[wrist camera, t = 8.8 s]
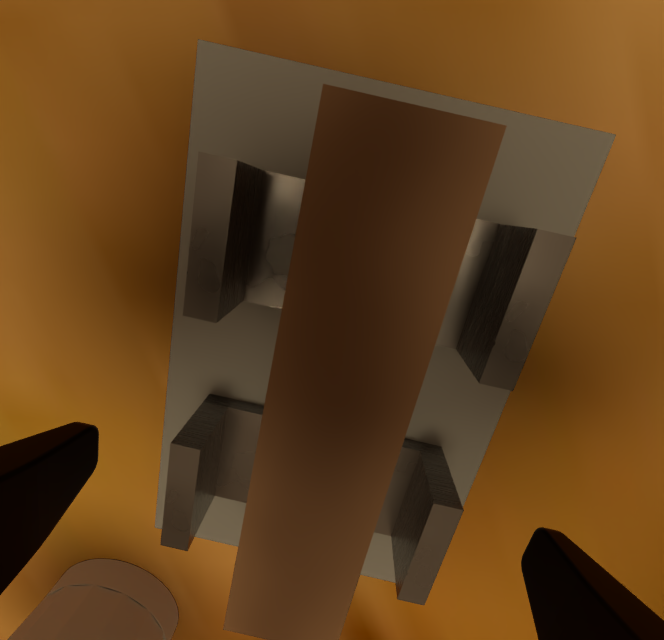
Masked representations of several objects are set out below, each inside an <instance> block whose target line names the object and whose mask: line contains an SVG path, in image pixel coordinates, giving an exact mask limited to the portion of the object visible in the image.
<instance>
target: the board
mask: <svg viewBox="0 0 664 640" xmlns="http://www.w3.org/2000/svg"><path fill="white" fill-rule="evenodd" d="M323 84H327V85H331V86H336V87H340V88H345V89H349V90H353V91H358V92H362V93H366V94H371V95H375V96H380V97H384V98H388V99H393V100H397V101H401V102H406V103H410V104H415V105H419V106H423V107H428V108H432V109H436V110H441V111H445V112H449V113H454V114H458V115H463V116H467V117H471V118H476V119H480V120H484V121H489V122H493V123H498V124H502V125H506V126H507V127H506V130H505V133H504V136H503V139H502V142H501V145H500V148H499V151H498V154H497V157H496V160H495V163H494V167H493V170H492V173H491V176H490V179H489V182H488V185H487V188H486V191H485V194H484V197H483V200H482V203H481V206H480V209H479V212H478V215H477V219H480V220H485V221H489V222H493V223H498V224H504V225H512V226H520V227H527V228H535V229H541V230H545V231H549V232H554V233H558V234H562V235H567V236H571V237H574V236H575V233H576V231H577V229H578V226H579V224H580V221H581V219H582V216H583V214H584V212H585V209H586V207H587V204H588V202H589V199H590V197H591V195H592V192H593V190H594V187H595V185H596V182H597V180H598V178H599V175H600V173H601V170H602V168H603V165H604V163H605V161H606V158H607V156H608V153H609V151H610V148H611V146H612V144H613V141H614V139H615V136H616V135H615V134H611V133H607V132H602V131H598V130H593V129H589V128H585V127H580V126H576V125H572V124H567V123H563V122H558V121H554V120H550V119H545V118H541V117H536V116H532V115H528V114H523V113H519V112H515V111H510V110H506V109H501V108H497V107H493V106H488V105H484V104H480V103H475V102H471V101H466V100H462V99H458V98H453V97H449V96H445V95H440V94H436V93H431V92H427V91H423V90H418V89H414V88H409V87H405V86H401V85H396V84H392V83H388V82H383V81H379V80H374V79H370V78H366V77H361V76H357V75H353V74H348V73H344V72H339V71H335V70H331V69H326V68H322V67H318V66H313V65H309V64H304V63H300V62H296V61H291V60H287V59H283V58H278V57H274V56H269V55H265V54H261V53H256V52H252V51H247V50H243V49H239V48H234V47H230V46H226V45H221V44H217V43H212V42H208V41H204V40H199V39H198V45H197V57H196V68H195V79H194V90H193V102H192V113H191V124H190V136H189V147H188V158H187V169H186V181H185V192H184V203H183V215H182V226H181V237H180V248H179V260H178V271H177V282H176V294H175V305H174V316H173V327H172V339H171V350H170V361H169V373H168V384H167V395H166V406H165V418H164V429H163V440H162V452H161V463H160V474H159V486H158V497H157V508H156V519H155V528H159V529H162V525H163V514H164V504H165V494H166V483H167V473H168V462H169V452H170V443H171V442H172V440H173V439H174V438H175V437H176V435H177V434H178V433H179V432H180V430H181V429H182V428H183V427H184V425H185V424H186V423H187V421H188V420H189V419H190V418H191V416H192V415H193V414H194V413H195V411H196V410H197V409H198V408H199V406H200V405H201V404H202V403H203V401H204V400H205V399H206V397H207V396H208V395H209V394H214V395H218V396H223V397H227V398H232V399H236V400H240V401H245V402H249V403H253V404H258V405H262V406H264V404H265V398H266V393H267V388H268V382H269V377H270V371H271V366H272V360H273V355H274V349H275V344H276V338H277V333H278V327H279V322H280V316H281V311H282V309H278V308H273V307H269V306H265V305H260V304H256V303H252V302H247V301H243V302H242V303H240V304H239V305H238V306H237V307H236V308H234V309H233V310H232V311H231V312H230V313H228V314H227V315H226V316H225V317H223V318H222V319H221V320H220V321H219V322H217V323H213V322H208V321H204V320H200V319H195V318H191V317H186V316H183V307H184V297H185V286H186V276H187V266H188V255H189V245H190V235H191V224H192V214H193V204H194V193H195V183H196V173H197V162H198V152H204V153H208V154H212V155H217V156H221V157H225V158H230V159H234V160H238V161H241V162H243V163H246V164H249V165H251V166H254V167H257V168H259V169H262V170H266V171H270V172H275V173H279V174H283V175H288V176H292V177H296V178H301V179H305V180H306V174H307V169H308V163H309V158H310V152H311V147H312V142H313V136H314V131H315V125H316V120H317V114H318V109H319V103H320V98H321V92H322V87H323ZM509 394H510V390H506V389H501V388H497V387H493V386H488V385H484V384H479V383H478V381H477V380H476V378H475V377H474V375H473V374H472V372H471V371H470V369H469V368H468V366H467V365H466V363H465V362H464V360H463V359H462V357H461V356H460V355H459V353H458V352H457V350H456V349H453V348H448V347H444V346H440V345H435V347H434V350H433V353H432V356H431V359H430V362H429V365H428V368H427V371H426V374H425V378H424V381H423V384H422V387H421V390H420V393H419V396H418V399H417V402H416V405H415V408H414V411H413V414H412V417H411V420H410V423H409V426H408V430H407V433H406V436H405V438H406V439H411V440H415V441H420V442H424V443H428V444H433V445H437V446H441V447H442V449H443V452H444V455H445V458H446V461H447V464H448V467H449V469H450V472H451V475H452V478H453V481H454V484H455V487H456V490H457V493H458V495H459V498H460V501H461V504H462V507H463V505H464V503H465V501H466V498H467V496H468V493H469V491H470V488H471V486H472V484H473V481H474V479H475V476H476V474H477V471H478V469H479V467H480V464H481V462H482V459H483V457H484V454H485V452H486V450H487V447H488V445H489V442H490V440H491V437H492V435H493V433H494V430H495V428H496V425H497V423H498V420H499V418H500V416H501V413H502V411H503V408H504V406H505V403H506V401H507V399H508V396H509ZM245 508H246V503H243V502H239V501H235V500H230V499H226V498H222V497H217V496H215V497H214V499H213V501H212V503H211V505H210V507H209V509H208V511H207V513H206V515H205V517H204V519H203V521H202V523H201V525H200V527H199V529H198V531H197V533H196V535H195V537H198V538H203V539H207V540H212V541H216V542H220V543H225V544H229V545H233V546H239V541H240V535H241V530H242V524H243V519H244V513H245ZM360 575H364V576H369V577H373V578H377V579H382V580H386V581H391V582H395V583H396V581H395V571H394V561H393V551H392V541H391V536H388V535H383V534H379V533H374V534H373V537H372V540H371V543H370V546H369V549H368V552H367V555H366V558H365V561H364V564H363V567H362V570H361V573H360Z"/></svg>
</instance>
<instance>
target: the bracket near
mask: <svg viewBox="0 0 664 640" xmlns="http://www.w3.org/2000/svg"><path fill="white" fill-rule="evenodd" d="M304 185H305V179H301V178H296V177H292V176H288V175H283V174H279V173H275V172H270V171H266V170H262V169H259V168H257V167H254V166H251V165H249V164H246V163H243V162H241V161H238V160H234V159H230V158H225V157H221V156H217V155H212V154H208V153H204V152H198V162H197V173H196V183H195V193H194V204H193V214H192V224H191V235H190V245H189V255H188V266H187V276H186V286H185V297H184V307H183V316H186V317H191V318H195V319H200V320H204V321H208V322H213V323H217V322H219V321H220V320H221V319H222V318H223V317H225V316H226V315H227V314H228V313H230V312H231V311H232V310H233V309H234V308H236V307H237V306H238V305H239V304H240V303H242V302H243V301H247V302H252V303H256V304H260V305H265V306H269V307H273V308H278V309H282V306H283V300H284V295H285V289H286V284H287V278H288V273H289V267H290V262H291V256H292V251H293V245H294V240H295V234H296V229H297V224H298V218H299V213H300V207H301V202H302V196H303V191H304ZM575 240H576V237H571V236H567V235H562V234H558V233H554V232H549V231H545V230H541V229H535V228H527V227H520V226H512V225H504V224H498V223H493V222H489V221H485V220H480V219H476V222H475V225H474V228H473V231H472V234H471V237H470V240H469V243H468V246H467V249H466V252H465V255H464V258H463V261H462V264H461V267H460V270H459V274H458V277H457V280H456V283H455V286H454V289H453V292H452V295H451V298H450V301H449V304H448V307H447V310H446V313H445V316H444V319H443V322H442V326H441V329H440V332H439V335H438V338H437V341H436V344H435V345H440V346H444V347H448V348H453V349H456V350H457V352H458V353H459V355H460V356H461V357H462V359H463V360H464V362H465V363H466V365H467V366H468V368H469V369H470V371H471V372H472V374H473V375H474V377H475V378H476V380H477V381H478V383H479V384H484V385H488V386H493V387H497V388H501V389H506V390H510V391H513V390H514V387H515V385H516V382H517V380H518V378H519V375H520V373H521V370H522V368H523V366H524V363H525V361H526V358H527V356H528V353H529V351H530V349H531V346H532V344H533V341H534V339H535V337H536V334H537V332H538V329H539V327H540V324H541V322H542V320H543V317H544V315H545V312H546V310H547V308H548V305H549V303H550V300H551V298H552V295H553V293H554V291H555V288H556V286H557V283H558V281H559V279H560V276H561V274H562V271H563V269H564V266H565V264H566V262H567V259H568V257H569V254H570V252H571V250H572V247H573V245H574V242H575Z"/></svg>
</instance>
